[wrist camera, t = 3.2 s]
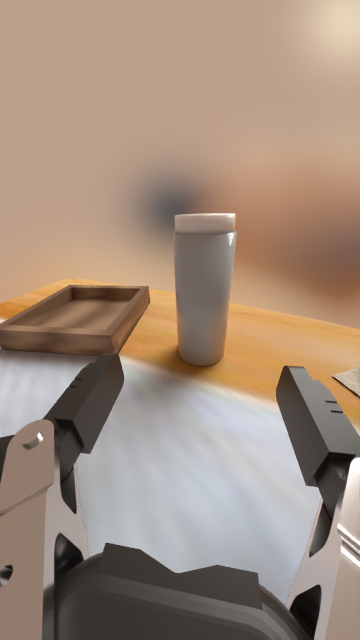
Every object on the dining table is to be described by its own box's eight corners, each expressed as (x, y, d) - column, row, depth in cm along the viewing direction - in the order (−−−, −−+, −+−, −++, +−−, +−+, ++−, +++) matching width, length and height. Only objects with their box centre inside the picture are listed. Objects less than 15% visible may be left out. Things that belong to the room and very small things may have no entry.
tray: (2, 349, 23) (-10, 329, 21) (74, 300, 35) (69, 285, 33) (116, 356, 21) (110, 335, 19) (150, 302, 33) (148, 286, 31)
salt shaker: (175, 364, 20) (166, 216, 13) (181, 336, 24) (177, 214, 17) (225, 367, 19) (243, 214, 12) (222, 338, 23) (234, 212, 17)
